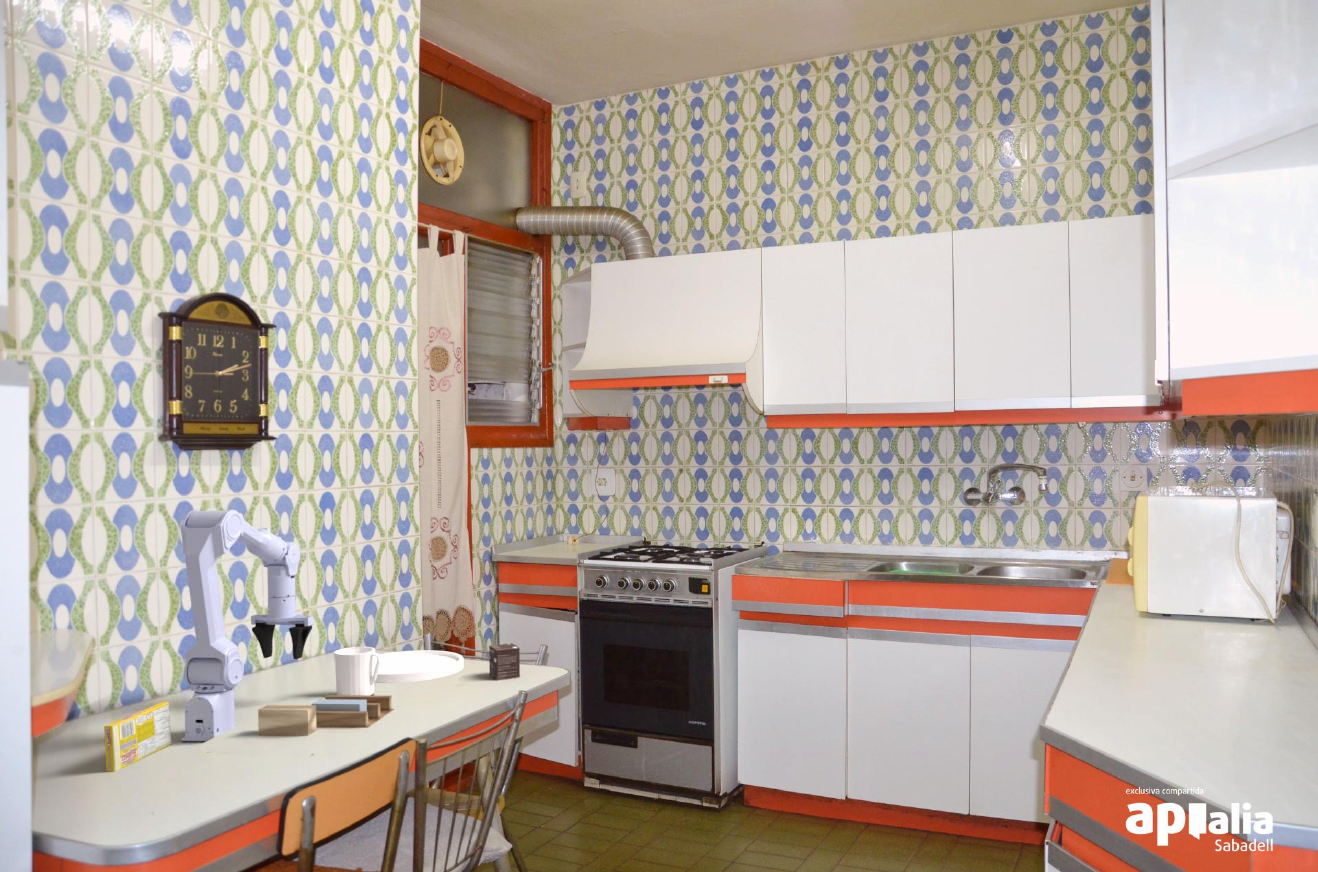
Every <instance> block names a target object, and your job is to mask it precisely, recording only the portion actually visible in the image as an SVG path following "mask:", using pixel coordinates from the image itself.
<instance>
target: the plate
mask: <svg viewBox="0 0 1318 872" xmlns="http://www.w3.org/2000/svg"><path fill="white" fill-rule="evenodd" d="M378 654H379V655H380V656H381V665H380V668H379V671H378V675H377V678H376V680H375V682H374V684H397V683H398V684H399V683H413V682H422V681H427V680H428V681H429V680H434V679H440V678H444V677H448V676H450V675H453V674H457V673H458V672H460V671H462V670H463V669H464V666H465V665H464V664H465V659H464V657H463V656H462V654H459V653H457V652H452V651H446V650H434V649H433V650H430V649H429V650H423V649H418V650H402V651H391V652H386V653H384V652H383V653H378ZM376 663H377V658H376V657H375V659H374V670H375V667H376Z"/></svg>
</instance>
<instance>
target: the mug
mask: <svg viewBox="0 0 1318 872" xmlns="http://www.w3.org/2000/svg"><path fill="white" fill-rule="evenodd" d="M379 654H380V653H378V652H376V648H374V647H372V646H353V647H352V646H351V647H345V648H339V649H337V650H335V651H334V652H333V656H334V664H335V665H334V666H335V682H336V686H335V687H336V688H335V689H336V695H371V696H375V695H374V694H375V683H374V682H375V680H376V678H377V675H378V671H379V668H380V665H381V656H380V655H379ZM375 657H376V658H377V663H376V667H375V670H374V659H375Z"/></svg>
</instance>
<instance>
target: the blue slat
mask: <svg viewBox="0 0 1318 872" xmlns="http://www.w3.org/2000/svg"><path fill="white" fill-rule="evenodd" d="M311 705H316V711H367V700H342V699H325V698H324V699H323V698H321V699H317V700H315V701H313V702H312V703H311Z"/></svg>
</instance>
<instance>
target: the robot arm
mask: <svg viewBox="0 0 1318 872" xmlns="http://www.w3.org/2000/svg"><path fill="white" fill-rule="evenodd" d="M179 527H180V535H181V541H182V549H183V554H184V557H185V559H184V561H185V567H186V575H187V583H188V588H189V591H188V592H189V597H190V604H191V611H192V613H191V614H192V620H193V626H194V633H195V634H194V635H195V641H196V642H195V643H194V644H193V645H192V646H191V647H190V648H188V650H186V652H185V654H184V657H185V658H184V659H185V663H184V664H185V665H184V668H183V677H184V680H185V682H186V684H187V685H188V686H189V687H190V691H193V692H194V694H193V696H192V697H191V698H190V699H189V700H188V702H187V703H186V705H185V708H184V727H185V728H184V729H185V731H184V733H185V734H184V735H185V736H184V737H181V739H180V741H181V742H208V741H210V740H212V739H214V738H216V737H218V736H220V735H222V734H224V733H226V732H227V733H228V732H230V731H232V730H234V729H236V727H237V725H236V718H235V717H236V716H235V715H236V714H235V713H236V712H235V710H236V709H235V688H236V687H238V685H239V684H240V682H241V680H242V679H243V676H244V673H245V666H244V662H243V659H242V658H241V655H240V651H239V646H238V645H236V644H235V643H234V642H232V640H230V639H229V638H228V637H227V636H226V628H225V627H226V626H225V619H224V613H223V605H222V598H221V597H222V596H221V589H220V582H219V581H220V579H219V574H218V566H217V561H218V559H219V558H220V557H221V556H222V555H225V554H226V553H227V552H228V551H229V550H230V549H231V547H232V546H233V545H234V544H235V543H236V542H237V541H238V542H242V543H243V544H244V545H245V547H246V550H247V552H249V553H250V554H251V555H254V556H256V557H257V558H259V559H260V561H261V564H262V566H263V567H264V568H267V571H266V572H267V573H266V574H267V614H253V615H251V616H250V625H251V626H252V625H254V626H253V627H251V632H252V633H253V635H254V636H255V638H256V640H257V641H258V644H259V646H260V651H261V653H262V657H263V659H268V658H270V657H271V658H272V656H273V648H274V647H273V639H274V633H275V629H276V626H280V625H281V626H290V627H289V628H288V630H289V634H290V637H291V643H292V657H293V660H298V659H302V658H303V653H304V649H305V645H306V642H307V640H308V637H309V635H310V633H311V631H312V630H313V625H314V616H313V615H305V614H304V615H303V614H297V613H296V611H297V610H296V607H297V606H296V575H297V574H298V569H299V568H298V567H299V563H300V561H301V552H300V549H299V546H298V545H297V544H296V543H294V541H285V540H284V539H282V537H281V536H278V535H275V534H274V533H272V532H271V528H268V527H262V528H257V529H256V527H254V526H252V525H251V524H249V523H248V522H247V521H246V520H245V519H244V515H243V513H240V512H239V511H238V510H236V509H229V510H197V509H193V510H190V511H188V512H187V513H186V514H185V516H184V518H183V520H182V522H181V524H180V525H179ZM291 626H292V627H291Z"/></svg>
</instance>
